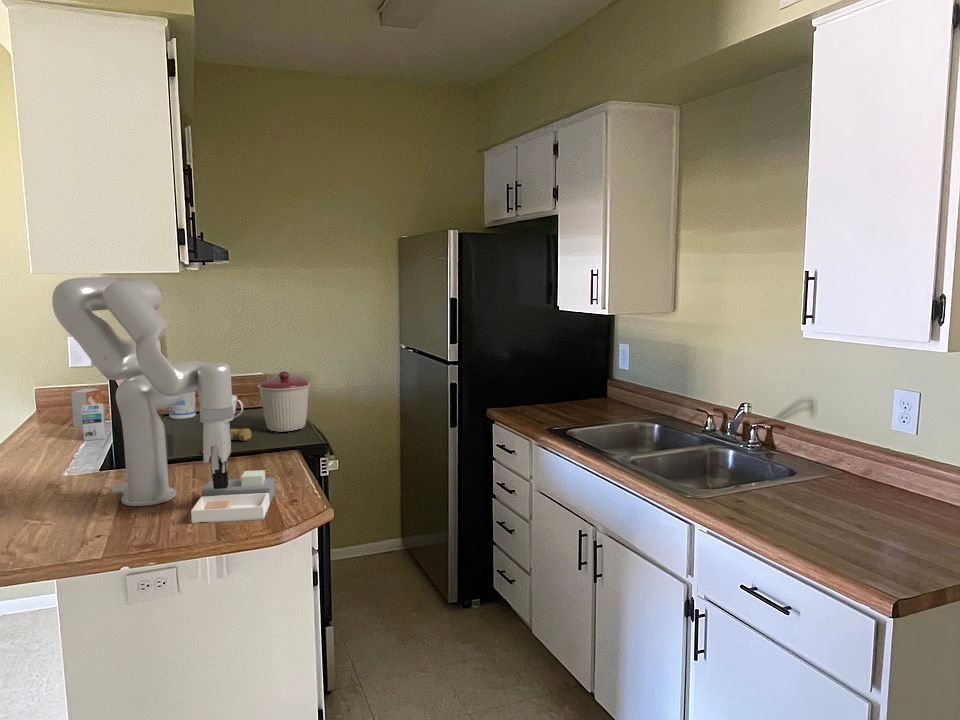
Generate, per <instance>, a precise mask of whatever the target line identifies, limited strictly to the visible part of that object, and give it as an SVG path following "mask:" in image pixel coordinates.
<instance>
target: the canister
mask: <svg viewBox="0 0 960 720" xmlns="http://www.w3.org/2000/svg"><path fill="white" fill-rule="evenodd" d="M310 386H311V382H309V381H308V380H306V379H304V378H299V377H290V373H289V372H288V371H284V370H283V371H281V372H279V373H278V378H276V377H275V378H271V379H266V380H264V381H261V383H260V384H258V385H257V388H258V389H259V393H260V399H261V403H262V410H263V411H262V412H263V417H264V420H265V421H264V423H265V425H266V427H267V429H268V430H269V431H270V430H271V431H270V432H272V431H277V432H276V433H278V431H279V432H283V431H294V430H298V429H301V428H302V429H304V428H305V426H306V424H307V423H306V422H307V416H308V415H307V414H308V406H309V405H308V404H309V391H310V390H309V389H310ZM303 427H304V428H303ZM302 429H301V430H302Z"/></svg>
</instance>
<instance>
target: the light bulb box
mask: <svg viewBox="0 0 960 720" xmlns="http://www.w3.org/2000/svg"><path fill="white" fill-rule="evenodd" d="M81 412H82V423H83V427H82V433H83V441H84V442H85V441H95V440H105V439H106V438H107V426H106V413H105V404H104V403H103V402H102V403H100V404H85V405H83V406H82V410H81Z"/></svg>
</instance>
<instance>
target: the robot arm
mask: <svg viewBox="0 0 960 720" xmlns="http://www.w3.org/2000/svg"><path fill="white" fill-rule="evenodd" d="M51 297H52V299H51V301H52V302H51V304H52V309H53V313H54V315H55V317H56V319H57V321H58V322H59V324H60V325H61V326H62V328H63V329H65V331H66V332H67V333H68V334H69V335H70V336H71V338H73V339H74V340H75V341H76V342H77V343H78V345H79V346H80V347H81V349H82V350H83V351H84V353H85V354H86V356H87V357H88V358H89V359H90V361H91V362H92V363H93V364H94V366H95V367H96V369H98V371H99V372H100V373H101V374H102V375H103V376H104V377H105V378H106V379H108V380H111V381H120V380H123V381H122V382H121V383H120V384H119V386H118V387H117V389H116V391H115V401H116V402H115V403H116V406H117V409H118V411H119V415H120V419H121V424H122V425H121V426H122V436H123V447H124V459H125V460H124V461H125V472H126V473H125V474H126V481H125V482H123V483H111V484H110V486H109V491H110V492H111V494H112V495H113V494H122V496H121V498H120V499H121V500H120V501H121V503H122V504H123V505H125V506H128V507H129V506H130V507H147V506H154V505H155V506H156V505H158V504H162V503H165V502H169V501H171V500H172V499H174V498H175V497H176V496H177V492H176V489H175V488H173V487H170V485H169V471H168V470H169V469H168V456H167V455H168V454H167V442H166V429H165V425H164V422H163V420H162V418H161V417H160V415H159V414H158V411H159V410H163V409H167V408H169V407H170V406H173V405H175V404H177V403H179V402H180V401H181V400H182V398H183V396H184V394H185V393H190V392H194V391H195V392H197V391H198V403H199V405H198V406H199V419H200V420H199V421H200V423H203V429H202V430H203V432H202V441H203V442H202V449H203V450H202V451H203V454H202V457H203V463H204V464H205V465H207V464H208V463H209V462H210V461H211V467H212V480H213V487H214V489H225V488H227V487H228V480H229V472H228V459H229V457H230V455H231V452H232V441H231V436H230V429H231V428H230V426H231V425H230V422H231V421H233V420H234V418H233V406H232V405H233V404H232V395H233V390H232V389H233V388H232V371H231V366H230V365H229V364H228V363H225V362H207V361H202V360H197V359H196V360H186V361H182V362H181V361H180V362H178V363H177V362H176V363H172V364H171V362H169V361H168V358H166V357H165V355H164V354H163V353H162V352H161V350H160V349H159V346H158V341H161V339H162V338H163V336H164V335H166V332H167V330H168V323H167V322H166V320H165V318H163V317H162V315H161V314H160V312H158V309H159V308H160V306H161V305H162V300H163V299H162V298H163V297H162V293H161V291H160V289H159V287H158V286H157V285H156V284H155V283H153V282H151V281H149V280H146V279H137V278H136V279H133V278H125V277H118V276H117V277H115V276H96V277H95V276H92V277H87V276H86V277H75V278H69V279H66V280H64V281H62V282H60V283H58V284H57V285H56V286H55V288H54V290H53V293H52V296H51ZM98 311H109V312H110V313H111V315H112V316H113V317H114V318H115V320H117V322H118V323H119V325H121V327H122V328H123V329H124V330H125V331H126V332H127V334H128V335H129V337H130V338H132V339H130V340H126V339H123V338H121V337H120V336H119V334H118V333H117V332H116V331H115V330H114V328H113V327H112V326H111V325H110V324H109V323H108V322H107V321H106V320H104V319H103V318H101V317H100V316H98V315H97V314H95V313H94V312H98Z"/></svg>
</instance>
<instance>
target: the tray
mask: <svg viewBox="0 0 960 720" xmlns="http://www.w3.org/2000/svg"><path fill="white" fill-rule="evenodd" d="M216 501H230V508H220V509H204V508H205V506H206V504H207V503H208V502H216ZM195 503H196V504H195V505H194V506H193V508H192V509H191V511H190V512H191V513H190V515H191V524H201V523H200V522H209V523H222V522H223V523H224V522H242V521H244V522H245V521H258V520H265V517H266V515H267V513H268V511H269V507H270V505H271V503H270V500H269V493H257V494H238V495H218V496H202V495H201V496H200V498H199V499H198V501H197V502H195ZM198 522H199V523H198Z"/></svg>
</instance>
